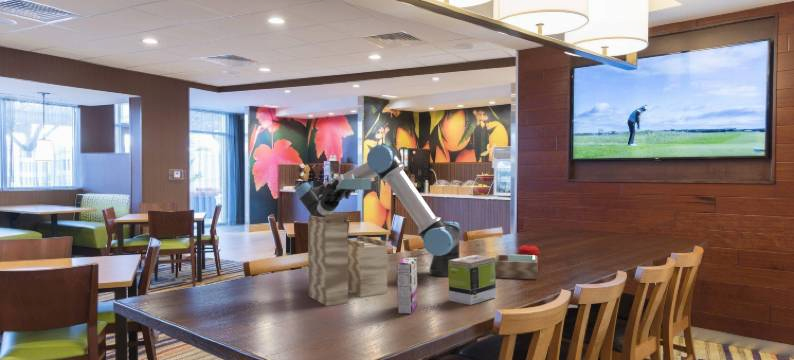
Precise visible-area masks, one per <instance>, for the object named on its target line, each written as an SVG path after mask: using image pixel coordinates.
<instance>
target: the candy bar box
mask: <svg viewBox="0 0 794 360" xmlns="http://www.w3.org/2000/svg"><path fill="white" fill-rule="evenodd" d="M417 262H418V261H417V257H402V258H401V259H400V260H399V261H398V262H397V263H396V277H397V278H396V279H397V280H396V282H397V314H403V315H412V314H413V313H414V311H415V310H416V309H417V306H418V267H417V266H418V265H417Z"/></svg>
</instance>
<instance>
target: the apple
mask: <svg viewBox="0 0 794 360" xmlns="http://www.w3.org/2000/svg"><path fill="white" fill-rule="evenodd" d="M517 252H518V254H517V255H535V256H537V259H538V260H539V258H540V254H541V252H540V249H539V248H538V247H537V246H535V245H531V244H529V243H528V244H527V245H521V246H520V247H519V248H518V251H517Z"/></svg>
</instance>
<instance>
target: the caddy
mask: <svg viewBox="0 0 794 360" xmlns="http://www.w3.org/2000/svg"><path fill="white" fill-rule="evenodd" d="M508 255H509V254H496V256H495V277H496V279H497V278H498V279H521V280H523V279H524V280H525V279H526V280H538V271H539V270H538V265H539V264H538V262H539V259H537V256H535V262H516V261H508Z"/></svg>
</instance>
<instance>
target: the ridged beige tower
mask: <svg viewBox="0 0 794 360" xmlns="http://www.w3.org/2000/svg"><path fill="white" fill-rule="evenodd" d="M348 293H351V294H353V295H355V296H356V297H359V298H364V297H372V296H379V295H386V294H388V245H387V242H386V240H381V239H377V238H372V237H368V236H364V235H361V234H360V235H357V238H356V239H349V238H348Z"/></svg>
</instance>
